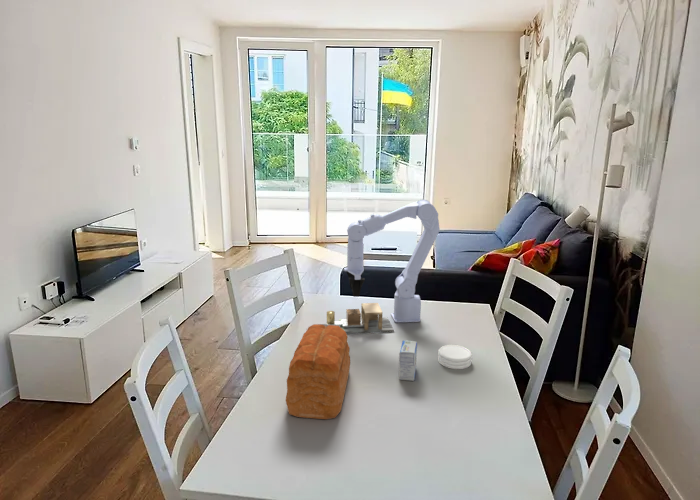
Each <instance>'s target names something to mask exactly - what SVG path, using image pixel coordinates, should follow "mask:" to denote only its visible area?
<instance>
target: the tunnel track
mask: <svg viewBox="0 0 700 500" xmlns="http://www.w3.org/2000/svg"><path fill="white" fill-rule="evenodd" d="M360 308H361V310H360V313H361V319H364V321H365V324H364V327H343V326H339V327H341V328H342V329H343V330H344V331H345V332H346V334H347V335H349V334H351V335H354V334H374V333H375V334H376V333H378V334H380V333H382V334H383V333H394V332H395V329H394V327H393V325H392V323H391V320H390V319H389V317H383V310H382V308H381V306H380V304H379V302H369V303H368V302H367V303H365V302H363V303H361V306H360ZM341 319H342V318H338V321H341Z"/></svg>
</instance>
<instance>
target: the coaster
mask: <svg viewBox="0 0 700 500" xmlns="http://www.w3.org/2000/svg"><path fill="white" fill-rule="evenodd" d="M437 352H438V354H437V362H438V363H439V364H440V365H441V366H443V367H446V368H447V369H448V368H449V369H452V370H464V369H467V368H469V367H470V366H471V365H472V360H473V358H472V357H473V354H472V353H473V352H472V350H470V349H468V348H466V347H465V346H462V345H458V344H445V345H443V346H441V347H439V348H438V351H437Z"/></svg>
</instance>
